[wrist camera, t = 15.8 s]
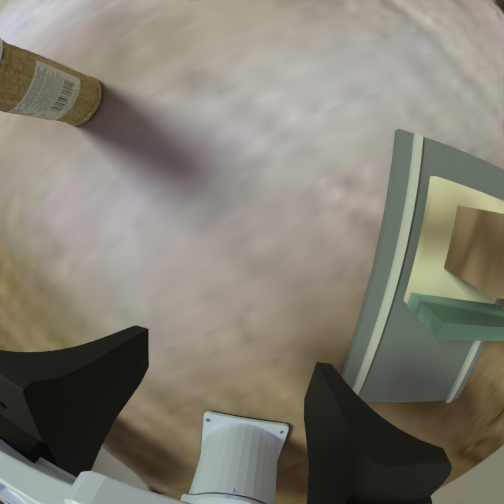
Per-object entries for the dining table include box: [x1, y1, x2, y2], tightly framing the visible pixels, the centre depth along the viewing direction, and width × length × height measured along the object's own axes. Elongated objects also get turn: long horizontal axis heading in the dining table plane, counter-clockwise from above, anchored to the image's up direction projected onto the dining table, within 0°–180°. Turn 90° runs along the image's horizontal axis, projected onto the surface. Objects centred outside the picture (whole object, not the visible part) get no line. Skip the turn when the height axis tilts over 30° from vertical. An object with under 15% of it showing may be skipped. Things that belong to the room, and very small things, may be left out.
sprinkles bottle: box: [0, 38, 102, 126], centre depth 13 cm, size 5×5×13 cm
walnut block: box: [444, 205, 504, 299], centre depth 14 cm, size 4×4×6 cm
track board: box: [340, 129, 504, 403], centre depth 20 cm, size 22×14×1 cm, turn 172°
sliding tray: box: [403, 176, 504, 341], centre depth 15 cm, size 9×9×6 cm
